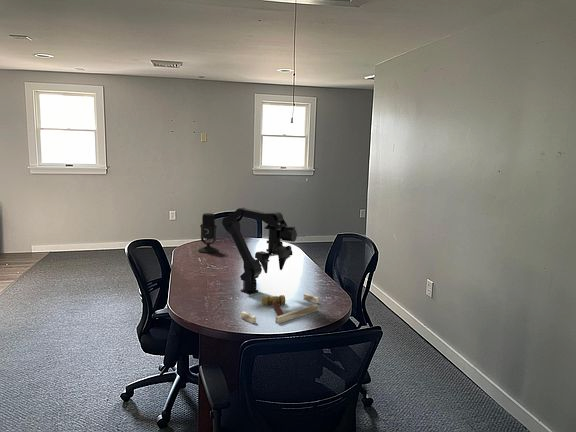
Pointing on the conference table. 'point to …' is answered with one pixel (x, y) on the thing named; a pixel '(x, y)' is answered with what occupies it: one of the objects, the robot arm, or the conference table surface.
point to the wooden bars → (289, 315)
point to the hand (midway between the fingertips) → (273, 271)
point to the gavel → (274, 302)
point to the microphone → (208, 233)
